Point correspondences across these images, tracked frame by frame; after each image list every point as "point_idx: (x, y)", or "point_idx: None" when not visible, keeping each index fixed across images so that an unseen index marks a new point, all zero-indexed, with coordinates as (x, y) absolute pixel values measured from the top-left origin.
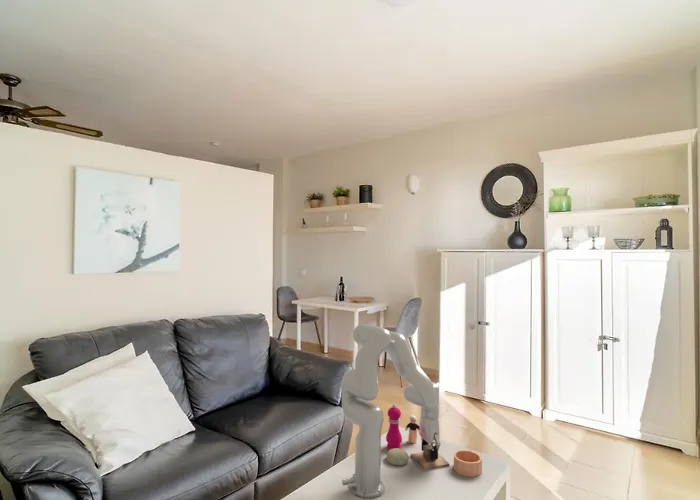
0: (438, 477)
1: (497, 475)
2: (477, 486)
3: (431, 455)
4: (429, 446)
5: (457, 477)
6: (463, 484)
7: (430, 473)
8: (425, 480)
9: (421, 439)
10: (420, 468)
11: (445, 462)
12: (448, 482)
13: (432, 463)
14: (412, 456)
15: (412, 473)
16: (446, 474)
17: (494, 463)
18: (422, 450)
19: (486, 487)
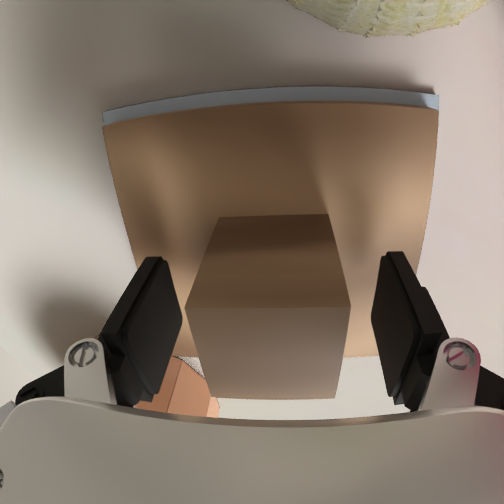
0: (40, 211)
1: None
2: (19, 343)
3: (129, 288)
4: (280, 364)
5: (62, 316)
6: (13, 305)
7: (82, 172)
8: (6, 106)
9: (469, 348)
10: (146, 103)
11: (189, 344)
12: (7, 246)
13: (176, 248)
14: (385, 104)
15: (93, 12)
16: (80, 278)
17: None
18: (390, 256)
19: (24, 363)
